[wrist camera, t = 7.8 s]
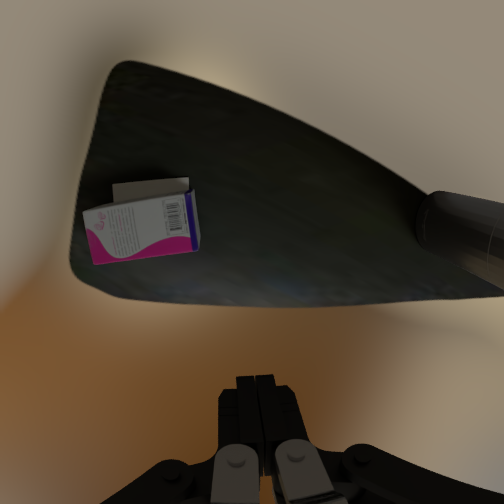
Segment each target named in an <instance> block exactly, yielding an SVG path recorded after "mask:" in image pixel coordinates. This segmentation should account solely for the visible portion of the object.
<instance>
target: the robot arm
mask: <svg viewBox="0 0 504 504" xmlns="http://www.w3.org/2000/svg"><path fill="white" fill-rule="evenodd" d="M416 235H417V238H418V241H419V243H420V245H421V246H422V247H423V248H424V249H425V250H426V251H428V252H430V253H432V254H434V255H436V256H438V257H440V258H442V259H444V260H446V261H448V262H450V263H453V264H455V265H457V266H459V267H461V268H463V269H465V270H467V271H469V272H471V273H473V274H475V275H477V276H479V277H480V278H482V279H484V280H486V281H488V282H490V283H492V284H494V285H496V286H498V287H500V288H502V289H503V290H504V203H499V202H495V201H490V200H486V199H481V198H476V197H471V196H466V195H461V194H456V193H451V192H445V191H435V192H433V193H431V194H429V195H428V196H427V197H426V198H425V199H424V200H423V202H422V203H421V205H420V207H419V209H418V213H417V216H416ZM236 383H237V389H224V390H223V391H222V393H221V394H220V396H219V398H218V399H219V400H218V449H217V452H216V453H215V455H214V456H213V457H211V458H210V459H209V460H207V461H205V462H202V463H198V464H194V465H187V464H186V463H184V462H182V461H180V460H174V459H173V460H172V459H169V460H164V461H161V462H159V463H157V464H156V465H155V466H153V467H152V468H151V469H149V470H148V471H146V472H145V473H144V474H143V475H141V476H140V477H138V478H137V479H135V480H134V481H133V482H131V483H130V484H128V485H127V486H125V487H124V488H123V489H121V490H120V491H118V492H117V493H115V494H114V495H112V496H111V497H109V498H108V499H106V500H105V501H103V502H102V503H100V504H259V491H260V477H261V476H263V467H264V473H265V476H271V477H272V483H273V488H272V492H273V496H274V500H275V504H504V494H501V493H497V492H493V491H490V490H486V489H483V488H479V487H476V486H473V485H470V484H466V483H464V482H460V481H458V480H454V479H452V478H449V477H446V476H443V475H441V474H438V473H435V472H433V471H430V470H427V469H425V468H422V467H420V466H417V465H415V464H412V463H410V462H408V461H405V460H403V459H401V458H398V457H396V456H394V455H391V454H389V453H387V452H385V451H383V450H380V449H378V448H376V447H374V446H372V445H369V444H355V445H352V446H350V447H349V448H347V449H346V450H345V451H344V452H331V451H324V450H321V449H319V448H317V447H315V446H314V445H313V444H312V443H311V442H310V441H309V439H308V436H307V432H306V429H305V426H304V423H303V420H302V416H301V413H300V410H299V407H298V404H297V400H296V396H295V393H294V392H293V391H292V390H291V389H290V388H289V387H288V386H287V385H283V386H276V384H275V379H274V376H273V374H270V375H256V376H255V379H254V376H239V377H236Z"/></svg>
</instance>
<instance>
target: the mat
mask: <svg viewBox="0 0 504 504" xmlns="http://www.w3.org/2000/svg"><path fill="white" fill-rule="evenodd" d="M112 185H113V199H114V202H119V201H125V200H130V199H135V198H141V197H147V196H152V195H158V194H164V193H171V192H177V191H183V190H189V177H185V178H171V179H159V180H148V181H138V182H128V183H119V184H112Z"/></svg>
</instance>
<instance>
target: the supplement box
mask: <svg viewBox="0 0 504 504" xmlns="http://www.w3.org/2000/svg"><path fill="white" fill-rule="evenodd" d="M83 218H84V224H85V229H86V234H87V238H88V243H89V247H90V252H91V256H92V260H93V264H94V265H98V264H105V263H112V262H119V261H127V260H134V259H141V258H148V257H156V256H162V255H170V254H178V253H185V252H194V251H198V250H199V244H200V238H201V236H200V230H199V223H198V216H197V209H196V202H195V193H194V189H189V190H183V191H177V192H171V193H164V194H158V195H152V196H147V197H141V198H135V199H130V200H125V201H119V202H114V203H109V204H104V205H101V206H97V207H94V208H91V209H88V210H85V211H83Z"/></svg>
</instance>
